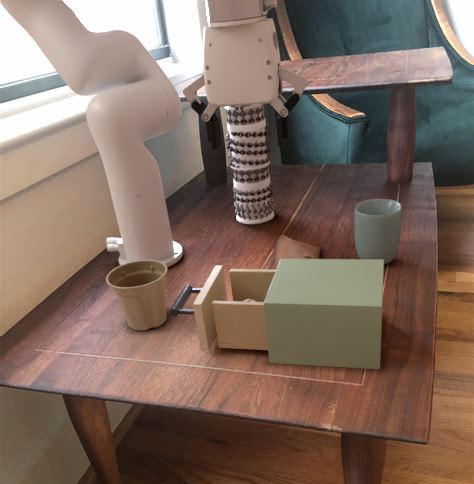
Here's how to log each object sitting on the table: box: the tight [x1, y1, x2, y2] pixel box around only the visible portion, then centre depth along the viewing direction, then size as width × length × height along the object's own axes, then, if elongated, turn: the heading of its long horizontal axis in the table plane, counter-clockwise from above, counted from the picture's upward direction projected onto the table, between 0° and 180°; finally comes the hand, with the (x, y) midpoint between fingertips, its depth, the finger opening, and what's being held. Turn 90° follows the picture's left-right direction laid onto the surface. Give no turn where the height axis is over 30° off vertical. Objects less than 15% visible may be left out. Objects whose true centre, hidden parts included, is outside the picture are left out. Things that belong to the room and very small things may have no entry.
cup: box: [353, 198, 403, 266], centre depth 94 cm, size 8×8×10 cm
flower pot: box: [105, 260, 169, 331], centre depth 85 cm, size 9×9×9 cm
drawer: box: [168, 264, 276, 353], centre depth 78 cm, size 18×11×8 cm, turn 76°
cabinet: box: [264, 258, 385, 370], centre depth 75 cm, size 15×13×10 cm
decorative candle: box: [223, 104, 275, 225], centre depth 114 cm, size 9×9×25 cm
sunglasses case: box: [273, 234, 321, 270], centre depth 95 cm, size 18×7×7 cm
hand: (249, 145), depth 79 cm, fingers open, 9 cm apart
